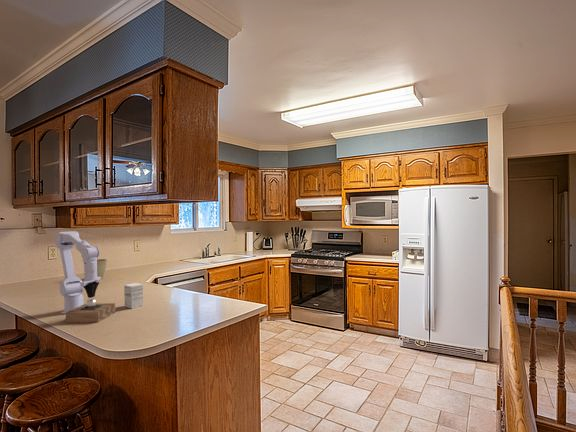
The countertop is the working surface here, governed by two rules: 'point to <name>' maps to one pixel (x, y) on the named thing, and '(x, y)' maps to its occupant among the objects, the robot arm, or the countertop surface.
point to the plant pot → (101, 267)
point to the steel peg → (91, 303)
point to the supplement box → (133, 295)
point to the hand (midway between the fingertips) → (91, 297)
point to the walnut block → (90, 313)
